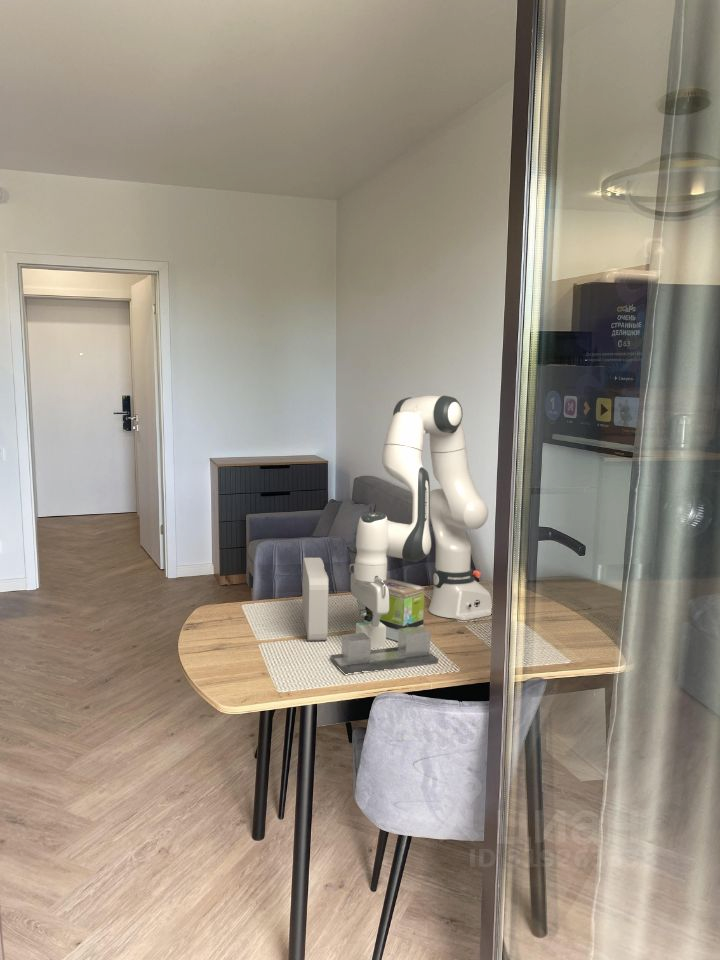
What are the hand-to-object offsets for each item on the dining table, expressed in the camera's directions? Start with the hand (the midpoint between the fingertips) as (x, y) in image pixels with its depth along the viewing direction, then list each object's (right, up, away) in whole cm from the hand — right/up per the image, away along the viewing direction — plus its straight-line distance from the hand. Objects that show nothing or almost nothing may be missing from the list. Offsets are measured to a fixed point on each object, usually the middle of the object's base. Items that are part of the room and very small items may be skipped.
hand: (368, 621), depth 203 cm
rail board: (+4, -9, -10) cm, 14 cm away
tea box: (+7, -6, +11) cm, 15 cm away
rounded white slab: (-16, -5, +16) cm, 23 cm away
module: (+1, -7, +1) cm, 7 cm away
